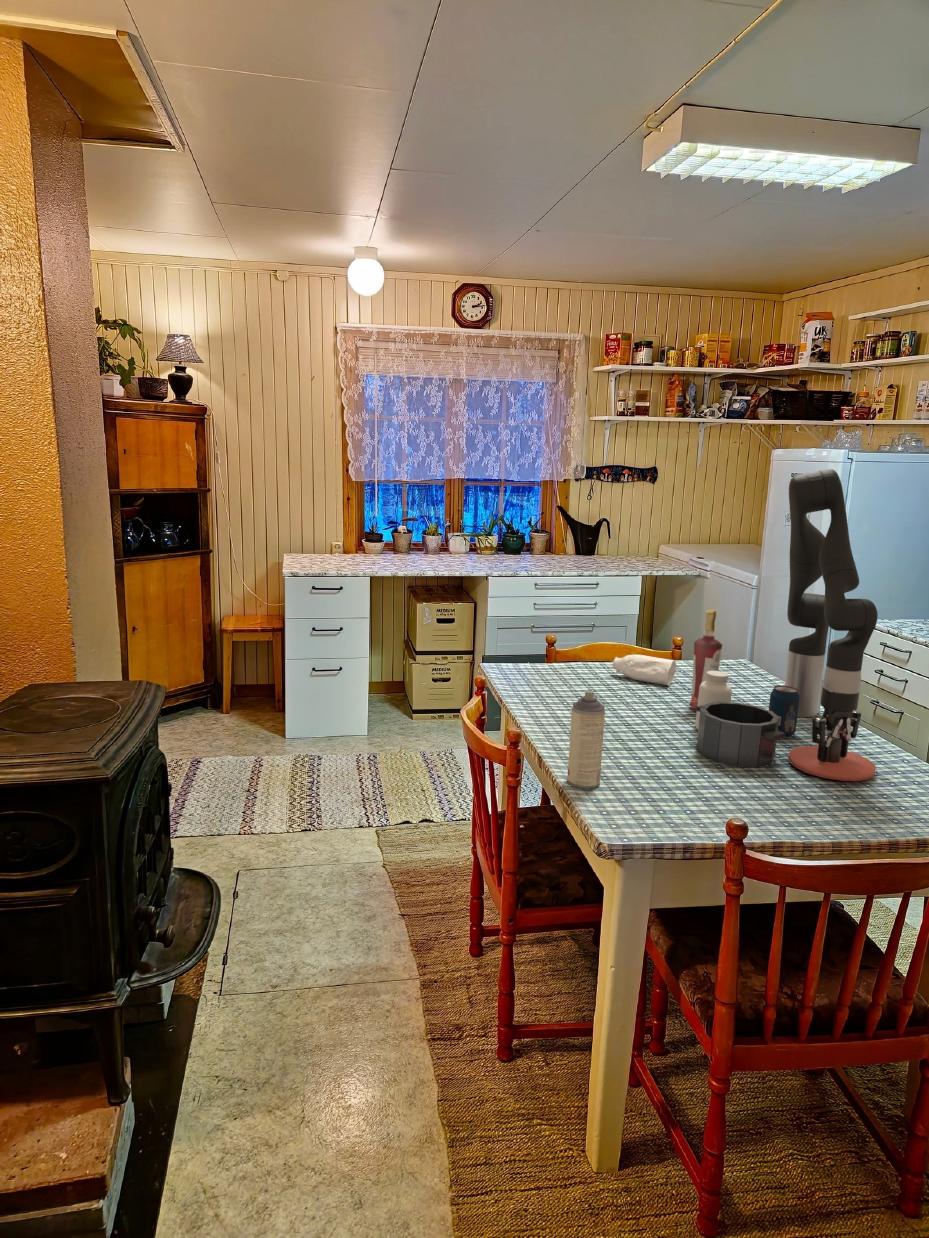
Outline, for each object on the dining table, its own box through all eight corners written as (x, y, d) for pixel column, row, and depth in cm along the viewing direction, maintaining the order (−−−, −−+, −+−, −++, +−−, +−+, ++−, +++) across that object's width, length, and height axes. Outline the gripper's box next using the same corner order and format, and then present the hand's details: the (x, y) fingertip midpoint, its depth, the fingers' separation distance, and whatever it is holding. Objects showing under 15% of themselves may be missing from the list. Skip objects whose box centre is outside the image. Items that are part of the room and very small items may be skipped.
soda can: (773, 727, 210) (778, 683, 208) (799, 734, 205) (805, 689, 203) (761, 733, 205) (766, 687, 203) (787, 740, 200) (793, 694, 198)
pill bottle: (729, 736, 202) (735, 678, 199) (696, 733, 204) (701, 675, 201) (725, 726, 210) (731, 670, 207) (693, 723, 211) (699, 667, 208)
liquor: (705, 715, 218) (716, 614, 212) (682, 709, 223) (691, 609, 217) (720, 711, 222) (730, 611, 217) (697, 704, 228) (707, 606, 222)
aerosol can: (595, 776, 174) (601, 687, 170) (603, 789, 167) (610, 696, 163) (563, 776, 173) (569, 686, 169) (571, 789, 166) (577, 696, 162)
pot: (723, 733, 204) (727, 695, 202) (800, 764, 185) (805, 723, 183) (673, 743, 196) (677, 703, 194) (748, 777, 176) (753, 733, 174)
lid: (821, 750, 195) (825, 721, 194) (891, 776, 180) (896, 746, 178) (770, 761, 186) (774, 732, 185) (840, 791, 171) (844, 758, 169)
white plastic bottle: (618, 672, 259) (620, 648, 257) (676, 683, 249) (678, 658, 248) (608, 678, 252) (610, 653, 251) (667, 688, 243) (669, 663, 241)
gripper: (846, 679, 186) (837, 748, 189) (805, 686, 179) (796, 758, 182) (876, 688, 179) (866, 759, 183) (835, 695, 172) (825, 769, 176)
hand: (831, 758), depth 182 cm, fingers open, 6 cm apart
